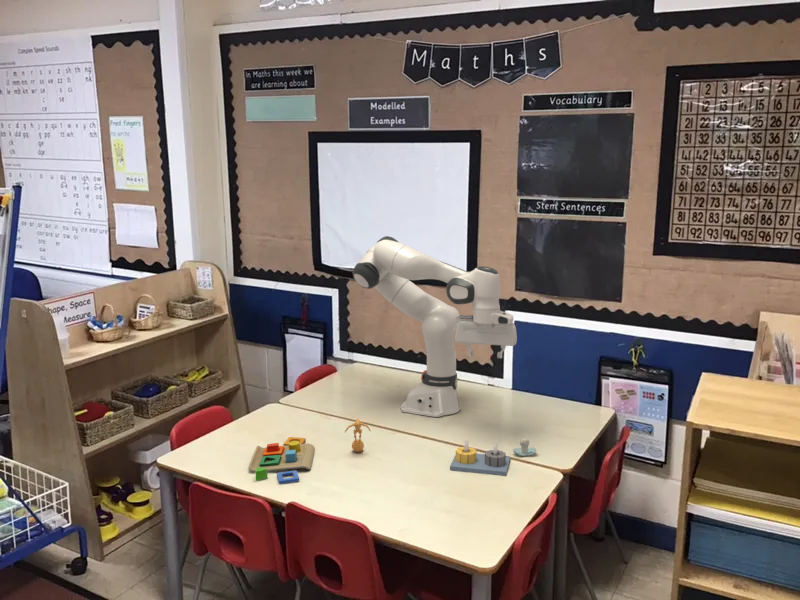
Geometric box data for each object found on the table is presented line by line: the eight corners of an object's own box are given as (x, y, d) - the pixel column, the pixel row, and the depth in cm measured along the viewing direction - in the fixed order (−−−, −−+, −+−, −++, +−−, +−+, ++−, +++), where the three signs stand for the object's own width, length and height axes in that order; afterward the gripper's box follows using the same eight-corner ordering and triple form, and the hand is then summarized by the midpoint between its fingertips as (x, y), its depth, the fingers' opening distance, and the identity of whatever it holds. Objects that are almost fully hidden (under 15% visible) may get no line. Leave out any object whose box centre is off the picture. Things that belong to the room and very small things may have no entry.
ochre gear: (454, 462, 218) (454, 453, 218) (458, 455, 224) (458, 446, 224) (474, 464, 217) (474, 455, 216) (477, 457, 222) (477, 448, 222)
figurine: (370, 448, 233) (369, 413, 231) (371, 455, 227) (370, 420, 225) (344, 449, 232) (344, 415, 230) (345, 457, 226) (344, 421, 224)
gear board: (449, 469, 216) (450, 447, 215) (457, 455, 227) (457, 433, 226) (505, 475, 211) (506, 453, 210) (510, 460, 223) (510, 438, 222)
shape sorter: (261, 440, 240) (260, 428, 239) (317, 439, 241) (316, 426, 240) (243, 485, 207) (242, 470, 206) (308, 483, 208) (307, 468, 207)
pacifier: (510, 452, 230) (514, 459, 224) (510, 433, 229) (514, 440, 223) (532, 451, 231) (537, 458, 225) (532, 432, 230) (537, 439, 224)
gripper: (453, 316, 232) (452, 357, 234) (516, 319, 227) (515, 361, 229) (456, 313, 238) (456, 352, 240) (518, 315, 233) (516, 356, 235)
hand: (485, 357), depth 235 cm, fingers open, 8 cm apart
